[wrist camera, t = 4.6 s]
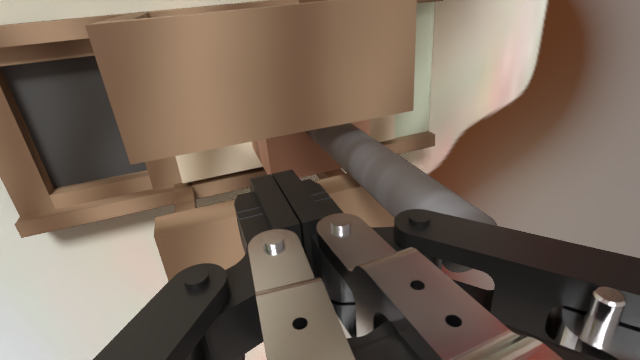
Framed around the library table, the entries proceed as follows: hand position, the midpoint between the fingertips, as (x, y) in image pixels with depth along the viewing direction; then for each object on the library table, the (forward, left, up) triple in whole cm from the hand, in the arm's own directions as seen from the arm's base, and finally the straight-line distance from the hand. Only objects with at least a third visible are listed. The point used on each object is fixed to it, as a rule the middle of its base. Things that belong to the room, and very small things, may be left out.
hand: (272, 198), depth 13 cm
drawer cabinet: (+1, +1, -16) cm, 16 cm away
